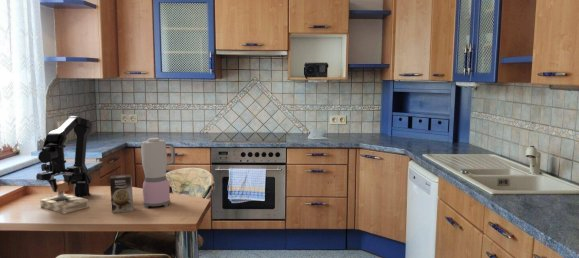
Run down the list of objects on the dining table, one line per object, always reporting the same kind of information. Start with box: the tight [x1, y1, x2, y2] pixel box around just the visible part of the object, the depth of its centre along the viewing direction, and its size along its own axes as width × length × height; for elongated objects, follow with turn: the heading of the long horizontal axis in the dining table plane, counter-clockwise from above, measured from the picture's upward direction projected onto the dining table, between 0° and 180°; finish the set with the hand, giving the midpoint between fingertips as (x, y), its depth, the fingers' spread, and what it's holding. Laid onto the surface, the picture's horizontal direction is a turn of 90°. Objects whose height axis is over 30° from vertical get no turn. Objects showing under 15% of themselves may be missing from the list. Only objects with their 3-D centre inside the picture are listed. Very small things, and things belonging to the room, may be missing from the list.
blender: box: [139, 137, 176, 209], centre depth 216 cm, size 16×12×32 cm
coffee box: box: [109, 174, 134, 214], centre depth 210 cm, size 9×6×16 cm
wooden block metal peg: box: [51, 180, 69, 203], centre depth 218 cm, size 5×5×11 cm
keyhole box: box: [39, 193, 90, 215], centre depth 217 cm, size 20×12×4 cm, turn 57°
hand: (60, 190), depth 218 cm, fingers closed on wooden block metal peg, 5 cm apart
